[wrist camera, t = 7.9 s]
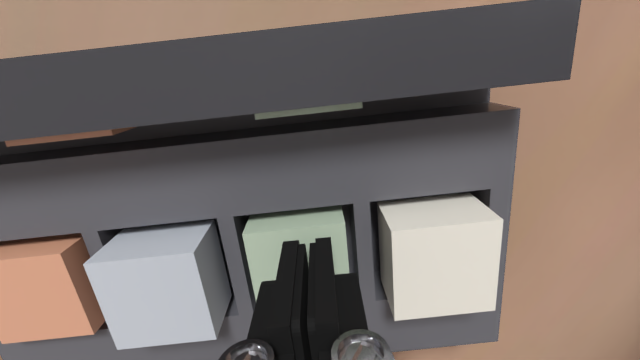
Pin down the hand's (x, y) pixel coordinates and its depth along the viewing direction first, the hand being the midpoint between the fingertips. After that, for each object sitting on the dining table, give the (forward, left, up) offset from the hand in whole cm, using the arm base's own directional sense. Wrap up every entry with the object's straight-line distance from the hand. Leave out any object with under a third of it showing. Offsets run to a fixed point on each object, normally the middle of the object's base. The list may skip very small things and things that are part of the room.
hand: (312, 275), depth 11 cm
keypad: (+3, -1, -5) cm, 6 cm away
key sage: (0, 0, -3) cm, 3 cm away
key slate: (+5, 0, -2) cm, 6 cm away
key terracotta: (+10, 0, -3) cm, 11 cm away
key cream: (-5, 0, -2) cm, 5 cm away
